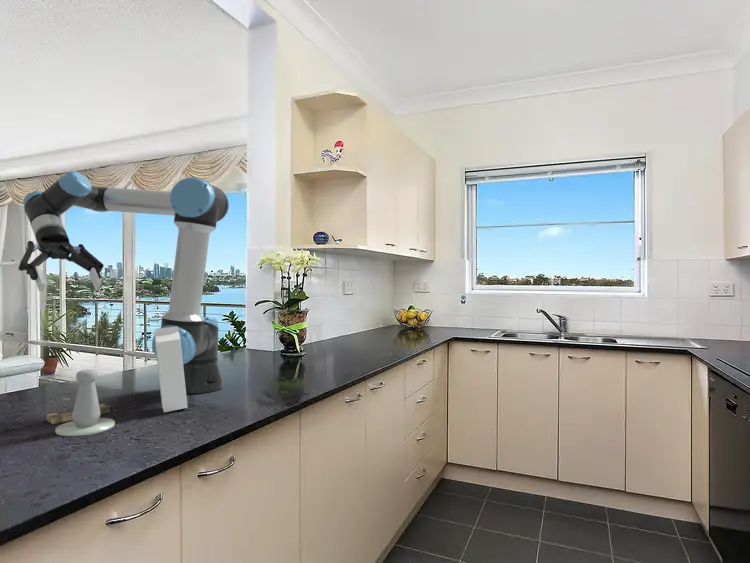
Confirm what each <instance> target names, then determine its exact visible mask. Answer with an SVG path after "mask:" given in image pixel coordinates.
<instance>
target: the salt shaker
mask: <svg viewBox="0 0 750 563" xmlns="http://www.w3.org/2000/svg"><path fill="white" fill-rule="evenodd" d="M98 374H99V373H98V372H97V370H95V369H82V370H79V371H78V372H76V376H75V378H76V379H75V380H76V382H79V383H78V388H77V393H76V397H75V400H74V406H73V409H72V412H73V413H72V419H73V420H72V421H74V423H75V425H76V427H79V428H86V427H92V426H94V425H96V424H97V422H98V420H99V418H101V415H102V414H101V413H100V407H99V405H100V403H99V397H98V392H97V387H96V380H97V379H98Z"/></svg>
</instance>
